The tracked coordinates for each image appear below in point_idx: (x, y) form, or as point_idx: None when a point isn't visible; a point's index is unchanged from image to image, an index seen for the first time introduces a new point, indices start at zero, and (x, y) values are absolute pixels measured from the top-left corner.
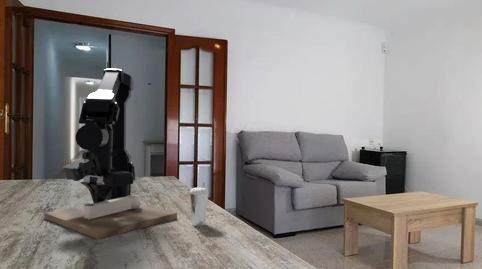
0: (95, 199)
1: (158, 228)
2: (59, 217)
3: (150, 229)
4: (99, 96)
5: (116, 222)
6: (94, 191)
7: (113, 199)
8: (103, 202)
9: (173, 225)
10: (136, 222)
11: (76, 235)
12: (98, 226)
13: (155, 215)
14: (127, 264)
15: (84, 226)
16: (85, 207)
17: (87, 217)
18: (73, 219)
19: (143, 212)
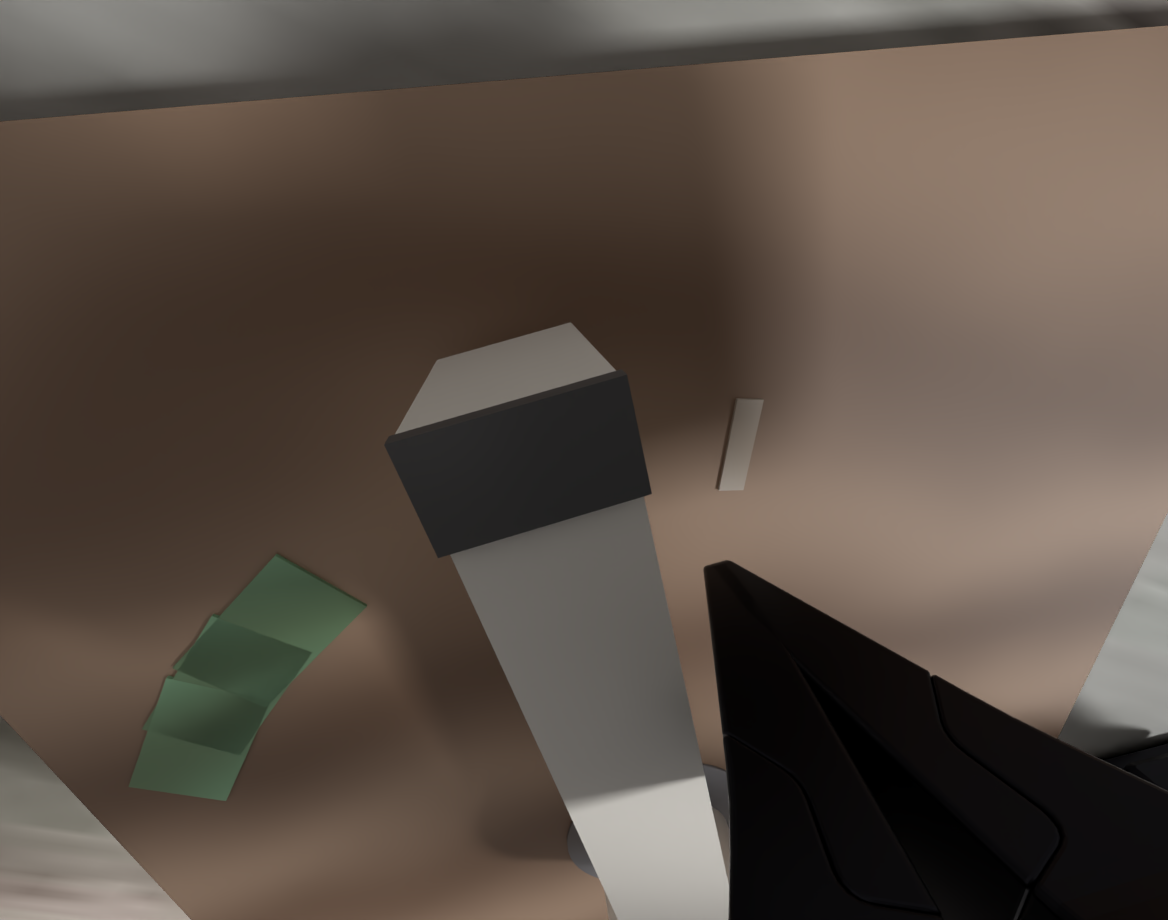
0: (784, 681)
1: (33, 816)
2: (993, 73)
3: (25, 766)
4: None
5: (161, 596)
6: (981, 872)
7: (706, 853)
8: (604, 726)
9: (88, 905)
10: (46, 751)
11: (126, 9)
12: (12, 338)
13: (281, 908)
14: None
15: (117, 146)
16: (564, 372)
17: (488, 347)
18: (712, 202)
19: (469, 861)
